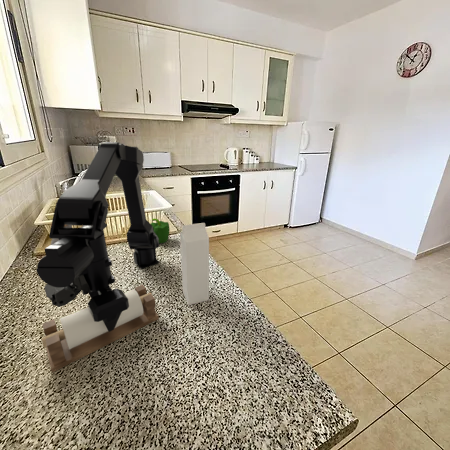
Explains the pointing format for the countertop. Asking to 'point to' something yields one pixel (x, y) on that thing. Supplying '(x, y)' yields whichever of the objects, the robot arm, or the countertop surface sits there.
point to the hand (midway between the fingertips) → (104, 317)
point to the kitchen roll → (88, 329)
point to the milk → (195, 262)
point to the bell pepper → (161, 230)
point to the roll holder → (65, 356)
